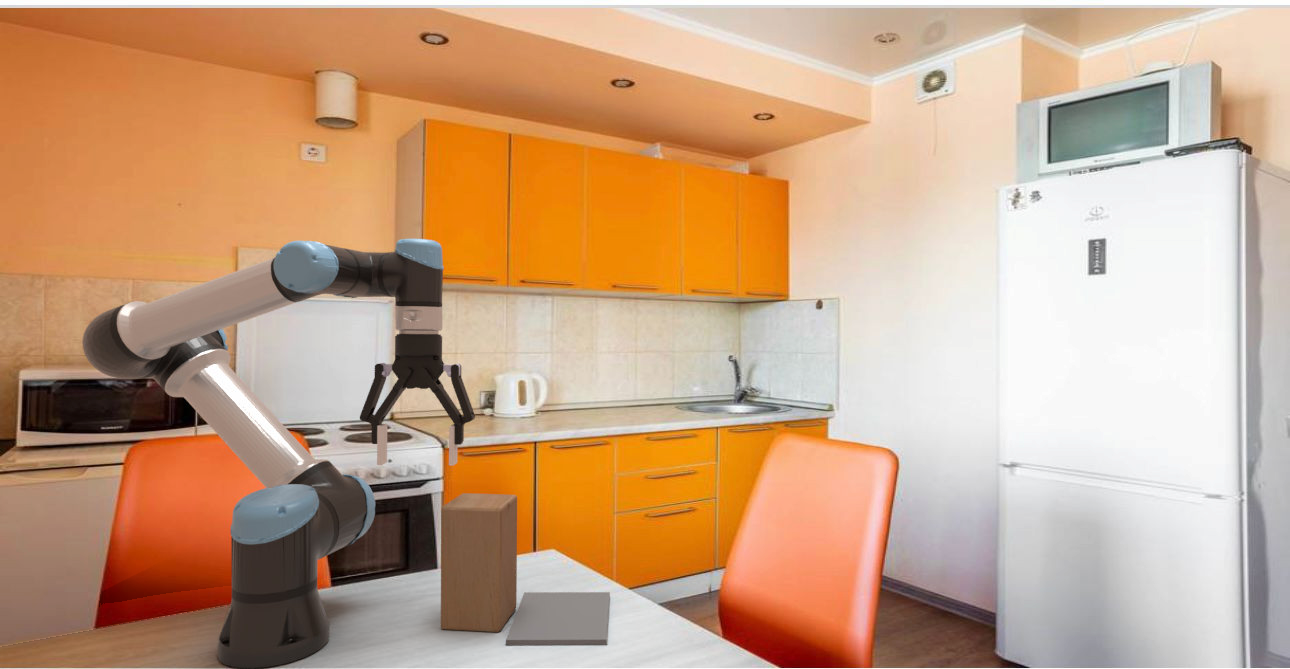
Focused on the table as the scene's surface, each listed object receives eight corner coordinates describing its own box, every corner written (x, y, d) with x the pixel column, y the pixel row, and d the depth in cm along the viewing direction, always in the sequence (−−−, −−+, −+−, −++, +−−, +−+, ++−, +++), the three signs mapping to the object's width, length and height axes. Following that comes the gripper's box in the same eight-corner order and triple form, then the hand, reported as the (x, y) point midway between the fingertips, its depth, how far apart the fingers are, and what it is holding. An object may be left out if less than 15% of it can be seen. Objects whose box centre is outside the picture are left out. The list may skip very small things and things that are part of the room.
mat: (505, 645, 110) (505, 639, 110) (524, 596, 130) (524, 592, 130) (606, 644, 111) (606, 639, 111) (609, 596, 131) (609, 592, 131)
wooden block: (517, 609, 125) (517, 494, 125) (499, 633, 115) (500, 508, 115) (461, 606, 126) (462, 492, 125) (439, 630, 116) (440, 506, 116)
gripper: (338, 332, 116) (337, 467, 116) (485, 333, 116) (484, 468, 116) (356, 331, 123) (355, 459, 123) (493, 333, 124) (492, 460, 124)
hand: (417, 464), depth 120 cm, fingers open, 11 cm apart
